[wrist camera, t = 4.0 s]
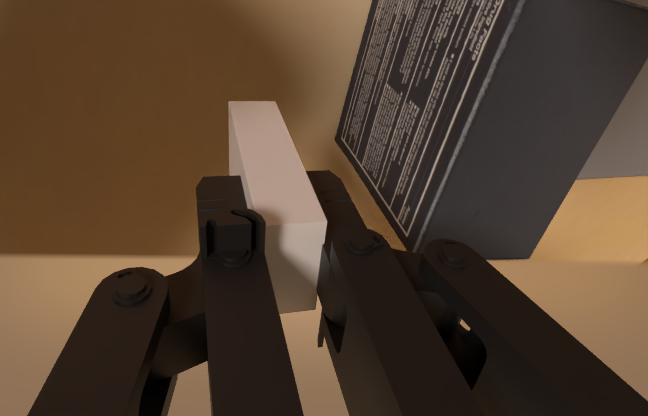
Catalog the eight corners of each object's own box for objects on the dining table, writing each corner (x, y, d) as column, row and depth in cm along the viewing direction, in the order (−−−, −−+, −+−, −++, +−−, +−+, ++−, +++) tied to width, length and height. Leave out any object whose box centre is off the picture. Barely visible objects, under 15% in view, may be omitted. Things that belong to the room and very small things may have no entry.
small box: (430, 152, 29) (534, 267, 20) (330, 142, 26) (402, 267, 18) (505, -37, 23) (688, 18, 15) (387, -69, 21) (526, -26, 13)
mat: (450, 183, 30) (453, 186, 30) (539, -114, 21) (545, -113, 21) (673, 170, 36) (677, 173, 35) (822, -75, 26) (830, -74, 26)
